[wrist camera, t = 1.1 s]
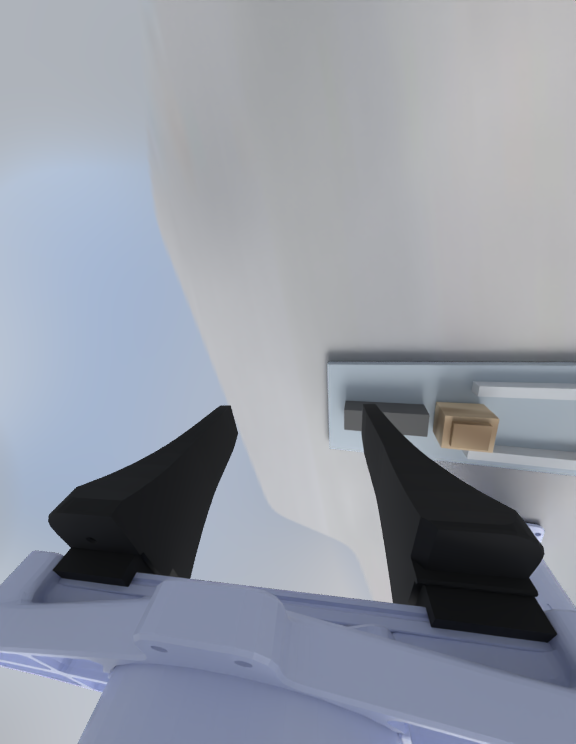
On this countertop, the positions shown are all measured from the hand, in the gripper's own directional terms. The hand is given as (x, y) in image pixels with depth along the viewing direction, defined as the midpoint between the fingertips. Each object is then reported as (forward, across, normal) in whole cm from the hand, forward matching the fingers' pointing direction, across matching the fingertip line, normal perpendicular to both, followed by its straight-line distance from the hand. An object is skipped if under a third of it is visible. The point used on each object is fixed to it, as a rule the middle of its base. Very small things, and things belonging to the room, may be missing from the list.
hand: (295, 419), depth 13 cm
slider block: (+11, -15, +9) cm, 20 cm away
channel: (+12, -16, +9) cm, 22 cm away
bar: (+12, -8, +9) cm, 17 cm away
